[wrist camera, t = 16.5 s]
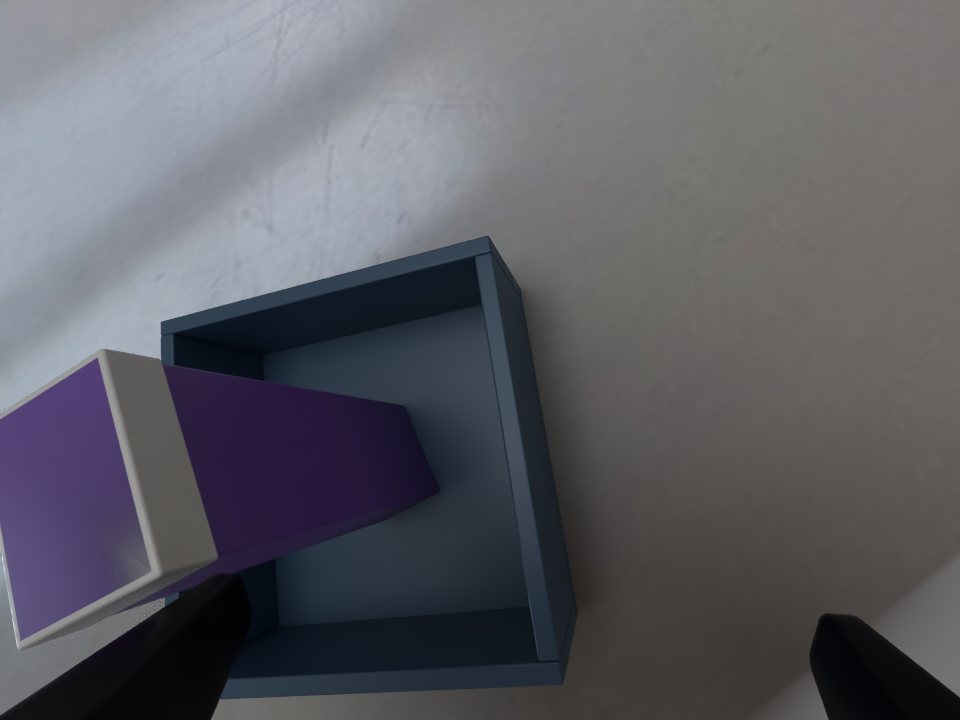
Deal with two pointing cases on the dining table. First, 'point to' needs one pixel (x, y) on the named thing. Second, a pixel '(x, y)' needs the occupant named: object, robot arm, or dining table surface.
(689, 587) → the dining table surface
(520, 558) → the open blue box
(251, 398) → the purple white-banded prism
